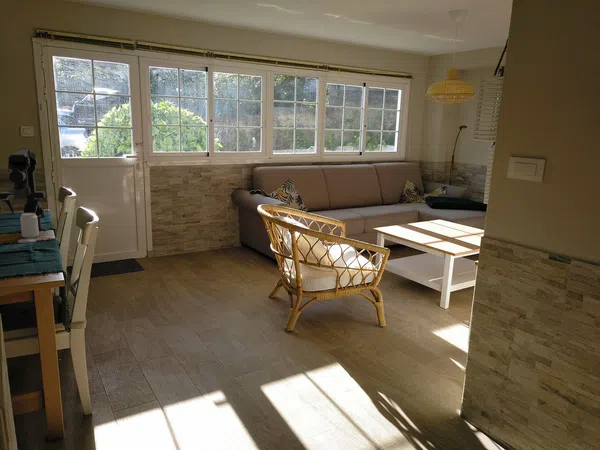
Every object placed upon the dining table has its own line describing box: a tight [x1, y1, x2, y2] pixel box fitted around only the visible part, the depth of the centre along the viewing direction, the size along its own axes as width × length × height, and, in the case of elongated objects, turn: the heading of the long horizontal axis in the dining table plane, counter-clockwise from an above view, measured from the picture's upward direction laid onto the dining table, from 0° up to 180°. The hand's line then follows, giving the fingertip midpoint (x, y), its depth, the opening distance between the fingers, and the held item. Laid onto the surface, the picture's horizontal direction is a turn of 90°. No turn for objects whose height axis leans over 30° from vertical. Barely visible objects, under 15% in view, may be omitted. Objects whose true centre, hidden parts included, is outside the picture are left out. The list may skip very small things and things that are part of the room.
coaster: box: [17, 237, 38, 245], centre depth 224 cm, size 8×8×1 cm
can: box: [19, 212, 40, 239], centre depth 232 cm, size 8×8×12 cm
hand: (24, 212), depth 220 cm, fingers open, 9 cm apart
